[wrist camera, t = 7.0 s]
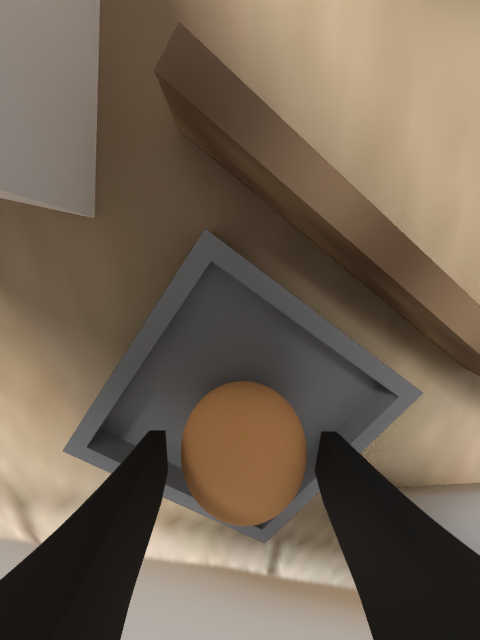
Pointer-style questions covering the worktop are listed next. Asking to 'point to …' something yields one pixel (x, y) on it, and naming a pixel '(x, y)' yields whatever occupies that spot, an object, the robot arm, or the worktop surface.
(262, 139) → the fence
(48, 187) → the milk
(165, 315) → the tray
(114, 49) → the worktop surface
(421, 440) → the worktop surface
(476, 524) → the tube
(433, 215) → the worktop surface
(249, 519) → the egg
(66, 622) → the robot arm
